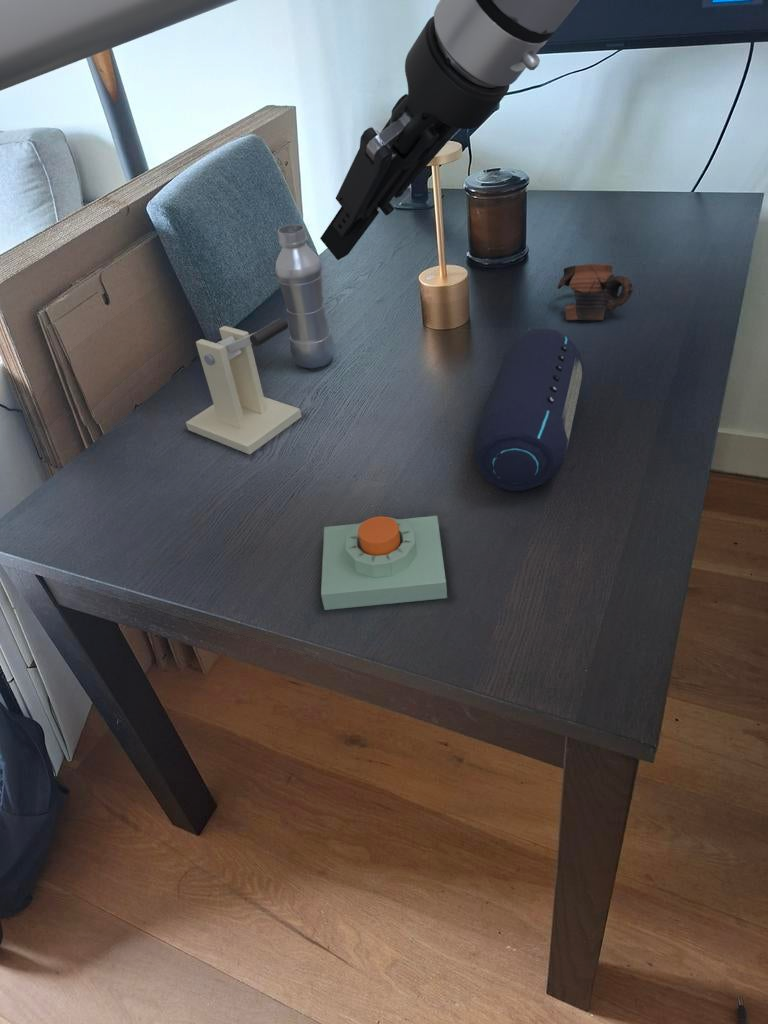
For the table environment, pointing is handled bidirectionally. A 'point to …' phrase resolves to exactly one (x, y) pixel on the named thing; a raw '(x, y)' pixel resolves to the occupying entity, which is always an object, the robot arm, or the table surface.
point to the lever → (253, 338)
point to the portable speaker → (530, 411)
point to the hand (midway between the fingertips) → (334, 246)
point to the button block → (383, 567)
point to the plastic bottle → (303, 298)
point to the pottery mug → (594, 291)
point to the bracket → (238, 399)
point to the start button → (379, 536)
